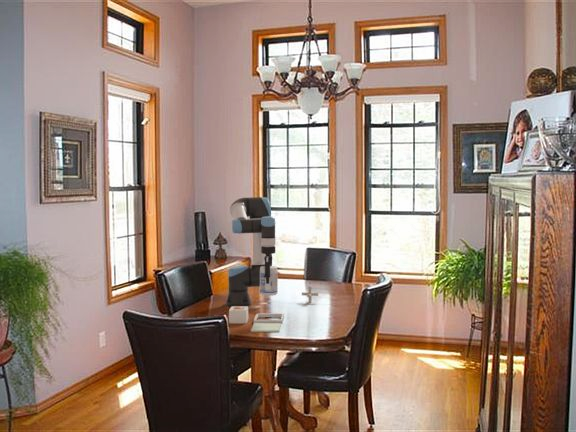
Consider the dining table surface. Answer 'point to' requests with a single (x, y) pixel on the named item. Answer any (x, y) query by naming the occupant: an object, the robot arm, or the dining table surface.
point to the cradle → (273, 315)
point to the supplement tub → (272, 281)
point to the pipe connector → (310, 294)
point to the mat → (266, 327)
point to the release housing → (238, 314)
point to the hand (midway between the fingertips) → (268, 287)
